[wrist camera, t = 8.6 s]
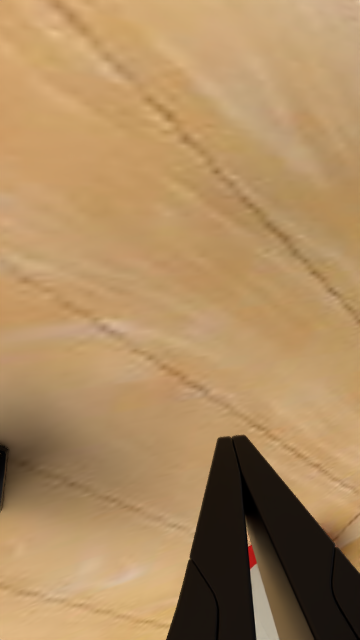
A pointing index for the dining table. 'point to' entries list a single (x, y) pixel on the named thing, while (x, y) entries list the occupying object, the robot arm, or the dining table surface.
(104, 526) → the dining table surface
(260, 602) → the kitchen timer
